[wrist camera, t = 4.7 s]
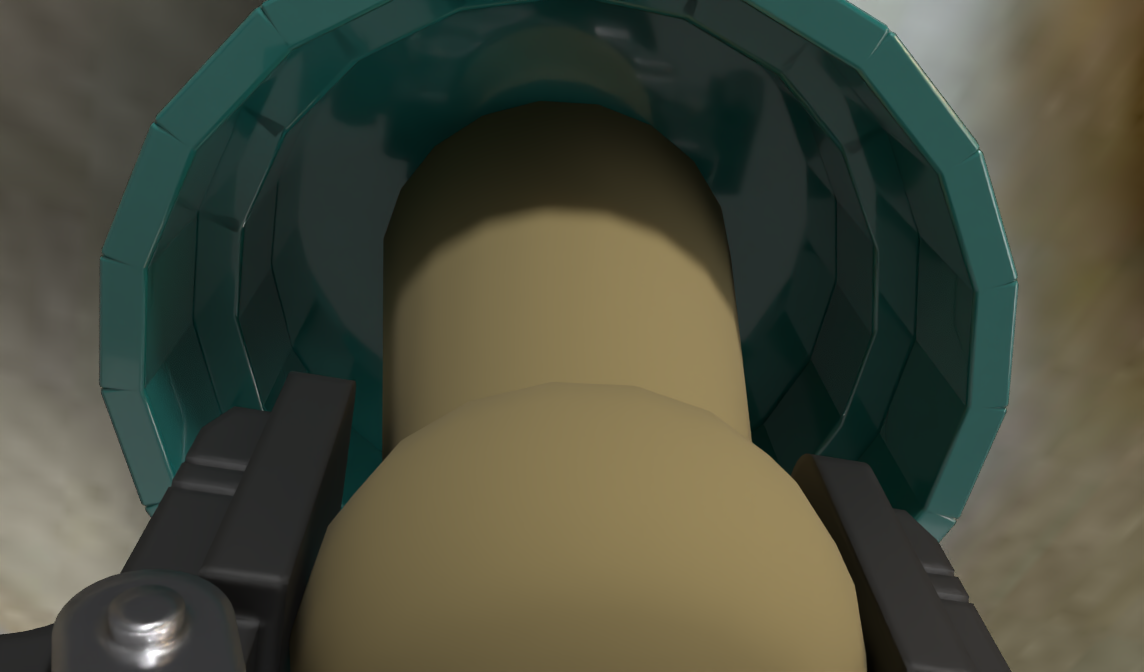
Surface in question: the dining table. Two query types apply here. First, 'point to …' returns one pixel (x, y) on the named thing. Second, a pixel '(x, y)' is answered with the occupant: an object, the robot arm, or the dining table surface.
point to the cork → (569, 431)
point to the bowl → (590, 76)
